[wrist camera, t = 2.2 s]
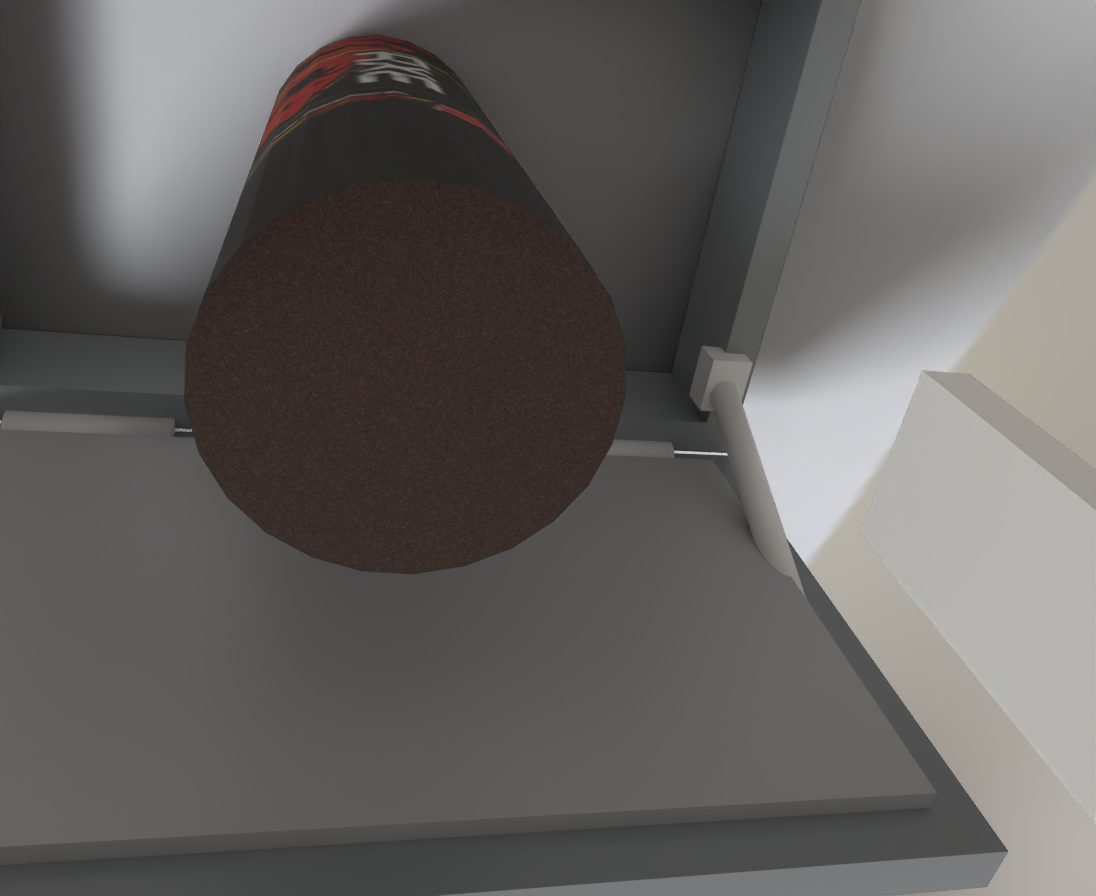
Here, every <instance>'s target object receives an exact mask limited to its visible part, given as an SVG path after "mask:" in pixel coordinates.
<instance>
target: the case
mask: <svg viewBox="0 0 1096 896" xmlns="http://www.w3.org/2000/svg"><path fill="white" fill-rule="evenodd" d="M860 1H861V0H762V4H761V8H760V12H759V16H758V20H757V24H756V28H755V32H754V36H753V41H752V45H751V49H750V53H749V57H748V61H747V65H746V69H745V73H744V77H743V82H742V86H741V90H740V94H739V98H738V102H737V106H736V110H735V114H734V118H733V122H732V127H731V131H730V135H729V139H728V143H727V147H726V151H725V155H724V159H723V163H722V167H721V172H720V176H719V180H718V184H717V188H716V192H715V196H714V200H713V204H712V208H711V212H710V217H709V221H708V225H707V229H706V233H705V237H704V241H703V245H702V249H701V253H700V257H699V262H698V266H697V270H696V274H695V278H694V282H693V286H692V290H691V294H690V298H689V302H688V307H687V311H686V315H685V319H684V323H683V327H682V331H681V335H680V339H679V343H678V347H677V352H676V356H675V360H674V364H673V368H672V372H671V373H662V372H647V371H632V370H626V398H625V402H624V405H623V409H622V412H621V416H620V419H619V423H618V426H617V430H616V434H615V437H614V441H613V444H612V446H611V448H610V449H609V451H608V453H607V454H606V456H605V458H604V460H603V461H602V463H601V465H600V467H599V468H598V470H597V472H596V473H595V475H594V477H593V479H592V480H591V482H590V484H589V485H588V487H587V488H586V489H585V490H584V491H583V492H582V493H581V494H580V495H579V496H578V497H577V498H576V499H575V500H574V501H573V502H572V503H571V504H570V505H569V506H568V507H567V508H566V509H565V510H564V512H563V513H562V514H561V515H560V516H559V517H558V518H557V519H556V520H555V521H554V522H552V523H551V524H549V525H548V526H546V527H545V528H543V529H541V530H540V531H538V532H537V533H535V534H534V535H532V536H531V537H529V538H528V539H526V540H525V541H523V542H521V543H520V544H518V545H517V546H515V547H514V548H512V549H510V550H507V551H504V552H502V553H499V554H496V555H494V556H491V557H488V558H486V559H483V560H480V561H478V562H475V563H472V564H470V565H467V566H464V567H458V568H451V569H445V570H439V571H432V572H426V573H419V574H399V573H381V572H363V571H359V570H355V569H352V568H348V567H344V566H341V565H337V564H333V563H330V562H326V561H322V560H319V559H315V558H312V557H310V556H308V555H306V554H304V553H303V552H301V551H299V550H297V549H295V548H293V547H291V546H289V545H288V544H286V543H284V542H282V541H280V540H278V539H276V538H274V537H272V536H271V535H269V534H267V533H265V532H264V531H263V530H262V529H261V528H260V527H259V526H258V525H257V524H255V523H254V522H253V521H252V520H251V519H250V518H249V517H248V516H247V515H246V514H244V513H243V512H242V511H241V510H240V509H239V508H238V507H237V506H236V505H234V504H233V503H232V502H231V501H230V500H229V499H228V498H227V497H226V495H225V494H224V492H223V491H222V489H221V487H220V486H219V484H218V483H217V481H216V480H215V478H214V477H213V475H212V473H211V472H210V470H209V469H208V467H207V466H206V464H205V462H204V461H203V459H202V458H201V456H200V455H199V452H198V449H197V445H196V442H195V438H194V435H193V432H179V428H183V429H192V428H191V424H190V421H189V417H188V414H187V410H186V407H185V403H184V390H185V355H186V345H187V342H188V341H184V340H169V339H154V338H139V337H124V336H109V335H94V334H79V333H64V332H49V331H34V330H19V329H4V328H3V326H2V319H1V311H0V420H2V421H1V424H0V896H891V895H901V894H913V893H925V892H937V891H948V890H959V889H971V888H982V887H987V886H988V884H989V882H990V881H991V879H992V878H993V876H994V874H995V873H996V871H997V869H998V868H999V866H1000V864H1001V863H1002V861H1003V860H1004V858H1005V856H1006V855H1007V853H1008V850H1007V849H1006V847H1005V846H1004V845H1003V843H1002V842H1001V840H1000V839H999V838H998V836H997V835H996V834H995V832H994V831H993V829H992V828H991V826H990V825H989V824H988V822H987V821H986V819H985V818H984V816H983V815H982V814H981V812H980V811H979V809H978V808H977V807H976V805H975V804H974V802H973V801H972V800H971V798H970V797H969V795H968V794H967V793H966V791H965V790H964V788H963V787H962V785H961V784H960V783H959V781H958V780H957V778H956V777H955V775H954V774H953V773H952V771H951V770H950V768H949V767H948V766H947V764H946V763H945V761H944V760H943V758H942V757H941V756H940V754H939V753H938V751H937V750H936V749H935V747H934V746H933V744H932V743H931V742H930V740H929V739H928V737H927V736H926V734H925V733H924V732H923V730H922V729H921V728H920V726H919V725H918V723H917V722H916V720H915V719H914V718H913V716H912V715H911V713H910V712H909V710H908V709H907V708H906V706H905V705H904V703H903V702H902V701H901V699H900V698H899V696H898V695H897V694H896V692H895V691H894V689H893V688H892V686H891V685H890V684H889V683H888V681H887V679H886V678H885V677H884V675H883V674H882V672H881V671H880V670H879V668H878V667H877V665H876V664H875V663H874V661H873V660H872V658H871V657H870V655H869V654H868V653H867V651H866V650H865V648H864V647H863V646H862V644H861V643H860V641H859V640H858V638H857V637H856V636H855V634H854V633H853V631H852V630H851V629H850V627H849V626H848V624H847V623H846V622H845V620H844V619H843V617H842V616H841V614H840V613H839V612H838V610H837V609H836V607H835V606H834V605H833V603H832V602H831V600H830V599H829V597H828V596H827V595H826V593H825V592H824V591H823V589H822V588H821V586H820V585H819V583H818V582H817V581H816V579H815V578H814V576H813V575H812V574H811V572H810V571H809V569H808V568H807V566H806V565H805V564H804V562H803V561H802V559H801V558H800V557H799V555H798V554H797V552H796V551H795V549H794V548H793V547H792V545H791V544H790V542H789V541H788V540H787V538H786V535H785V532H784V529H783V526H782V523H781V520H780V517H779V514H778V511H777V508H776V505H775V502H774V499H773V496H772V493H771V490H770V487H769V484H768V481H767V478H766V475H765V472H764V469H763V466H762V463H761V459H760V456H759V453H758V450H757V447H756V444H755V441H754V438H753V435H752V432H751V429H750V426H749V423H748V420H747V417H746V414H745V411H744V408H743V403H744V399H745V396H746V393H747V389H748V386H749V382H750V379H751V375H752V372H753V369H754V365H755V362H756V358H757V355H758V351H759V348H760V344H761V341H762V338H763V334H764V331H765V327H766V324H767V320H768V317H769V314H770V310H771V307H772V303H773V300H774V296H775V293H776V290H777V286H778V283H779V279H780V276H781V272H782V269H783V265H784V262H785V259H786V255H787V252H788V248H789V245H790V241H791V238H792V235H793V231H794V228H795V224H796V221H797V217H798V214H799V211H800V207H801V204H802V200H803V197H804V193H805V190H806V187H807V183H808V180H809V176H810V173H811V169H812V166H813V162H814V159H815V156H816V152H817V149H818V145H819V142H820V138H821V135H822V132H823V128H824V125H825V121H826V118H827V114H828V111H829V108H830V104H831V101H832V97H833V94H834V90H835V87H836V84H837V80H838V77H839V73H840V70H841V66H842V63H843V59H844V56H845V53H846V49H847V46H848V42H849V39H850V35H851V32H852V29H853V25H854V22H855V18H856V15H857V11H858V8H859V5H860ZM674 451H697V452H719V453H727V454H728V456H723V455H700V454H677V453H674Z"/></svg>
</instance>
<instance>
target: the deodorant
mask: <svg viewBox="0 0 1096 896" xmlns="http://www.w3.org/2000/svg"><path fill="white" fill-rule="evenodd" d="M625 398H626V347H625V343H624V340H623V336H622V333H621V330H620V326H619V323H618V320H617V316H616V313H615V310H614V306H613V303H612V299H611V297H610V295H609V294H608V292H607V291H606V289H605V288H604V286H603V285H602V283H601V282H600V280H599V279H598V277H597V276H596V274H595V272H594V271H593V269H592V268H591V266H590V265H589V263H588V262H587V260H586V259H585V257H584V256H583V254H582V252H581V251H580V250H579V248H578V247H577V245H576V244H575V242H574V241H573V240H572V238H571V237H570V235H569V234H568V233H567V231H566V230H565V228H564V227H563V225H562V224H561V223H560V221H559V220H558V218H557V217H556V215H555V214H554V213H553V211H552V210H551V208H550V207H549V205H548V204H547V203H546V201H545V200H544V198H543V197H542V195H541V194H540V193H539V191H538V190H537V188H536V187H535V185H534V184H533V183H532V181H531V180H530V178H529V177H528V175H527V174H526V173H525V171H524V170H523V168H522V167H521V166H520V164H519V163H518V161H517V160H516V158H515V157H514V156H513V154H512V153H511V151H510V150H509V148H508V147H507V146H506V144H505V143H504V141H503V140H502V138H501V137H500V136H499V134H498V133H497V131H496V130H495V128H494V127H493V126H492V124H491V123H490V121H489V120H488V118H487V117H486V116H485V114H484V113H483V111H482V110H481V109H480V107H479V106H478V104H477V103H476V101H475V100H474V99H473V97H472V96H471V94H470V93H469V91H468V90H467V89H466V87H465V86H464V84H463V83H462V81H461V80H460V79H459V77H458V76H457V75H456V74H455V73H454V72H453V71H452V70H450V69H449V68H448V67H447V66H446V65H445V64H444V63H443V62H442V61H441V60H440V59H438V58H437V57H436V56H435V55H433V54H431V53H429V52H427V51H425V50H423V49H421V48H419V47H418V46H416V45H414V44H412V43H410V42H407V41H402V40H398V39H393V38H388V37H384V36H379V35H378V36H365V37H351V38H346V39H344V40H341V41H338V42H336V43H333V44H330V45H328V46H325V47H322V48H320V49H319V50H317V51H316V52H315V53H314V54H312V55H311V56H310V57H308V58H307V59H306V60H304V61H303V62H302V63H301V64H299V65H298V66H297V67H296V68H295V70H294V71H293V72H292V74H291V75H290V76H289V78H288V79H287V81H286V82H285V83H284V85H283V86H282V88H281V89H280V91H279V93H278V96H277V99H276V101H275V104H274V107H273V110H272V112H271V115H270V118H269V121H268V123H267V126H266V129H265V131H264V134H263V137H262V140H261V142H260V145H259V148H258V150H257V153H256V156H255V159H254V161H253V164H252V167H251V169H250V172H249V175H248V178H247V180H246V183H245V186H244V189H243V191H242V194H241V197H240V199H239V202H238V205H237V208H236V210H235V213H234V216H233V218H232V221H231V224H230V227H229V229H228V232H227V235H226V238H225V240H224V243H223V246H222V248H221V251H220V254H219V257H218V259H217V262H216V265H215V267H214V270H213V273H212V276H211V278H210V281H209V284H208V286H207V289H206V292H205V295H204V297H203V300H202V303H201V306H200V309H199V311H198V314H197V317H196V320H195V323H194V325H193V328H192V331H191V334H190V337H189V339H188V342H187V345H186V355H185V390H184V403H185V407H186V410H187V414H188V417H189V421H190V424H191V428H192V431H193V435H194V438H195V442H196V445H197V449H198V452H199V455H200V456H201V458H202V459H203V461H204V462H205V464H206V466H207V467H208V469H209V470H210V472H211V473H212V475H213V477H214V478H215V480H216V481H217V483H218V484H219V486H220V487H221V489H222V491H223V492H224V494H225V495H226V497H227V498H228V499H229V500H230V501H231V502H232V503H233V504H234V505H236V506H237V507H238V508H239V509H240V510H241V511H242V512H243V513H244V514H246V515H247V516H248V517H249V518H250V519H251V520H252V521H253V522H254V523H255V524H257V525H258V526H259V527H260V528H261V529H262V530H263V531H264V532H265V533H267V534H269V535H271V536H272V537H274V538H276V539H278V540H280V541H282V542H284V543H286V544H288V545H289V546H291V547H293V548H295V549H297V550H299V551H301V552H303V553H304V554H306V555H308V556H310V557H312V558H315V559H319V560H322V561H326V562H330V563H333V564H337V565H341V566H344V567H348V568H352V569H355V570H359V571H363V572H381V573H399V574H419V573H426V572H432V571H439V570H445V569H451V568H458V567H464V566H467V565H470V564H472V563H475V562H478V561H480V560H483V559H486V558H488V557H491V556H494V555H496V554H499V553H502V552H504V551H507V550H510V549H512V548H514V547H515V546H517V545H518V544H520V543H521V542H523V541H525V540H526V539H528V538H529V537H531V536H532V535H534V534H535V533H537V532H538V531H540V530H541V529H543V528H545V527H546V526H548V525H549V524H551V523H552V522H554V521H555V520H556V519H557V518H558V517H559V516H560V515H561V514H562V513H563V512H564V510H565V509H566V508H567V507H568V506H569V505H570V504H571V503H572V502H573V501H574V500H575V499H576V498H577V497H578V496H579V495H580V494H581V493H582V492H583V491H584V490H585V489H586V488H587V487H588V485H589V484H590V482H591V480H592V479H593V477H594V475H595V473H596V472H597V470H598V468H599V467H600V465H601V463H602V461H603V460H604V458H605V456H606V454H607V453H608V451H609V449H610V448H611V446H612V444H613V441H614V437H615V434H616V430H617V426H618V423H619V419H620V416H621V412H622V409H623V405H624V402H625Z"/></svg>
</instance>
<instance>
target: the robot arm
mask: <svg viewBox="0 0 1096 896" xmlns="http://www.w3.org/2000/svg"><path fill="white" fill-rule="evenodd" d="M859 534H860V535H861V536H862V537H863V539H864V540H865V541H866V542H867V543H868V544H869V546H870V547H871V548H872V550H873V551H874V552H875V553H876V554H877V556H878V557H879V558H880V559H881V561H882V562H883V563H884V564H885V566H886V567H887V568H888V569H889V571H890V572H891V573H892V574H893V576H894V577H895V578H896V579H897V580H898V582H899V583H900V584H901V585H902V587H903V588H904V589H905V590H906V592H907V593H908V594H909V595H910V596H911V598H912V599H913V600H914V601H915V602H916V604H917V605H918V606H919V608H920V609H921V610H922V611H923V612H924V614H925V615H926V616H927V617H928V619H929V620H930V621H931V622H932V624H933V625H934V626H935V627H936V628H937V630H938V631H939V632H940V633H941V635H942V636H943V637H944V638H945V640H946V641H947V642H948V643H949V645H950V646H951V647H952V648H953V649H954V651H955V652H956V653H957V654H958V656H959V657H960V658H961V659H962V661H963V662H964V663H965V664H966V665H967V666H968V668H969V669H970V670H971V671H972V673H973V674H974V675H975V677H976V678H977V679H978V680H979V681H980V682H981V684H982V685H983V686H984V688H985V689H986V690H987V691H988V692H989V694H990V695H991V696H992V697H993V699H994V700H995V701H996V702H997V704H998V705H999V706H1000V707H1001V708H1002V710H1003V711H1004V712H1005V714H1006V715H1007V716H1008V717H1009V718H1010V719H1011V721H1012V722H1013V723H1014V724H1015V726H1016V727H1017V728H1018V730H1019V731H1020V732H1021V733H1022V734H1023V736H1024V737H1025V738H1026V739H1027V740H1028V742H1029V743H1030V744H1031V745H1032V747H1033V748H1034V749H1035V750H1036V752H1037V753H1038V754H1039V755H1040V756H1041V758H1042V759H1043V760H1044V761H1045V763H1046V764H1047V765H1048V766H1049V768H1050V769H1051V770H1052V771H1053V772H1054V774H1055V775H1056V776H1057V778H1058V779H1059V780H1060V781H1061V782H1062V784H1063V785H1064V786H1065V787H1066V789H1067V790H1068V791H1069V792H1070V794H1071V795H1072V796H1073V797H1074V798H1075V800H1076V801H1077V802H1078V803H1079V805H1080V806H1081V807H1082V808H1083V809H1084V811H1085V812H1086V813H1087V815H1088V816H1089V817H1090V818H1091V819H1092V820H1093V822H1094V823H1095V824H1096V468H1094V467H1093V466H1092V465H1090V464H1089V463H1088V462H1086V461H1085V460H1083V459H1082V458H1081V457H1080V456H1078V455H1077V454H1076V453H1074V452H1073V451H1072V450H1070V449H1069V448H1068V447H1066V446H1065V445H1064V444H1062V443H1061V442H1060V441H1058V440H1057V439H1056V438H1054V437H1053V436H1052V435H1050V434H1049V433H1048V432H1046V431H1045V430H1044V429H1042V428H1041V427H1040V426H1038V425H1037V424H1035V423H1034V422H1033V421H1031V420H1030V419H1029V418H1028V417H1026V416H1025V415H1023V414H1022V413H1021V412H1019V411H1018V410H1017V409H1016V408H1014V407H1013V406H1012V405H1010V404H1009V403H1007V402H1006V401H1005V400H1004V399H1002V398H1001V397H999V396H998V395H997V394H996V393H994V392H993V391H992V390H990V389H989V388H988V387H986V386H985V385H984V384H982V383H981V382H980V381H978V380H977V379H976V378H974V377H973V376H972V375H970V374H961V373H948V372H935V371H922V373H921V375H920V378H919V380H918V383H917V386H916V388H915V391H914V393H913V396H912V398H911V401H910V404H909V406H908V409H907V411H906V414H905V416H904V419H903V421H902V424H901V427H900V429H899V432H898V434H897V437H896V439H895V442H894V445H893V447H892V450H891V452H890V455H889V457H888V460H887V462H886V465H885V468H884V470H883V473H882V476H881V478H880V480H879V484H878V486H877V488H876V491H875V493H874V496H873V498H872V501H871V503H870V506H869V509H868V511H867V514H866V517H865V519H864V522H863V524H862V527H861V529H860V532H859Z"/></svg>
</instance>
